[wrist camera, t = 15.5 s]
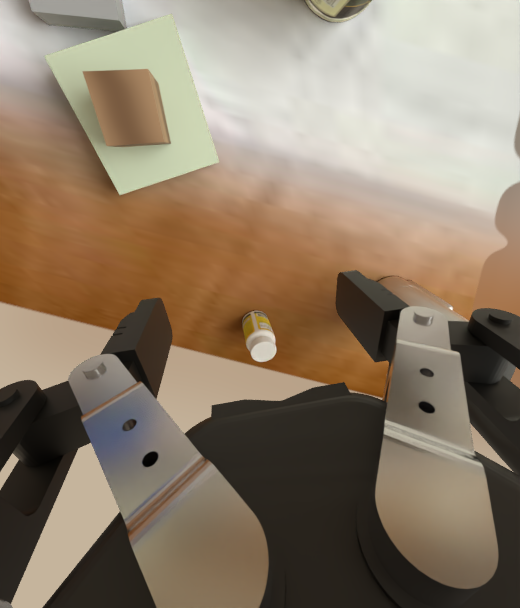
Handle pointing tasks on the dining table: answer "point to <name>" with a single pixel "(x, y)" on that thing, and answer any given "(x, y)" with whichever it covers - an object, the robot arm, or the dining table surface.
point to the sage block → (174, 92)
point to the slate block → (81, 13)
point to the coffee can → (337, 8)
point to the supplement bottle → (259, 336)
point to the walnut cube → (128, 107)
